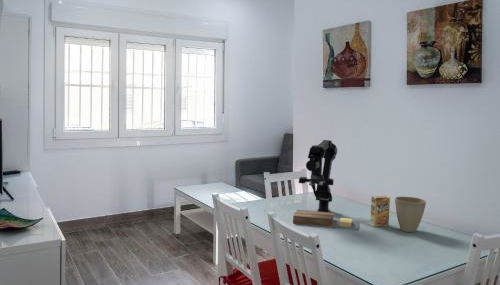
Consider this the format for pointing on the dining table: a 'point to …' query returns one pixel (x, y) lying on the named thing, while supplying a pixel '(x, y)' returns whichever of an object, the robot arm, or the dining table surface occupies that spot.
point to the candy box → (380, 211)
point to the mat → (353, 226)
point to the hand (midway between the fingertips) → (315, 196)
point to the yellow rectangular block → (345, 222)
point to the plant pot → (409, 212)
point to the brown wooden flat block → (313, 218)
